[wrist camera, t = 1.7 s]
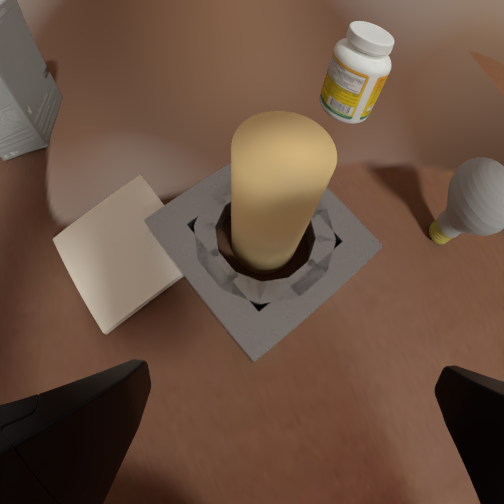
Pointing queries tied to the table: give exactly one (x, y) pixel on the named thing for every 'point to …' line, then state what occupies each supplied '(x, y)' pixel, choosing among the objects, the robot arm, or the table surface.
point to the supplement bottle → (357, 72)
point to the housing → (248, 289)
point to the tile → (117, 255)
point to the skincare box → (23, 87)
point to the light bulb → (472, 201)
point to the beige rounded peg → (276, 186)
